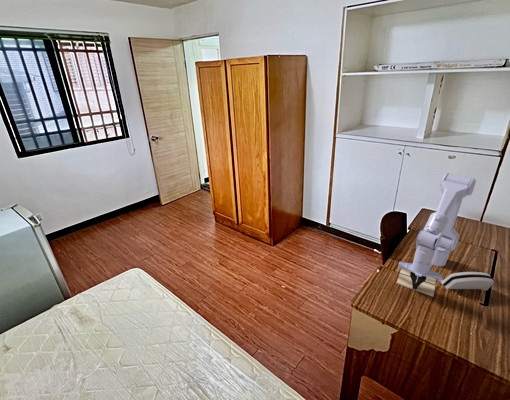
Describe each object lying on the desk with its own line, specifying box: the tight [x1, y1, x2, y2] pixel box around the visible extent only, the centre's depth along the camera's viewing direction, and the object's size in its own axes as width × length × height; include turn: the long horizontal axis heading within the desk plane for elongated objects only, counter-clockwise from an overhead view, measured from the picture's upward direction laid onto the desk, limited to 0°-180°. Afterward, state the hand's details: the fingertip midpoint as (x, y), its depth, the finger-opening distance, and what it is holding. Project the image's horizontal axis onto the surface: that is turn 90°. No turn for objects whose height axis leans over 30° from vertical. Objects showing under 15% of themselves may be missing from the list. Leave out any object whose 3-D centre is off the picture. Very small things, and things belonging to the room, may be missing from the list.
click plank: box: [396, 273, 436, 298], centre depth 110 cm, size 7×13×1 cm, turn 55°
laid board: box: [399, 268, 437, 286], centre depth 116 cm, size 7×13×1 cm, turn 55°
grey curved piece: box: [440, 271, 495, 292], centre depth 108 cm, size 17×5×10 cm, turn 89°
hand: (414, 287), depth 108 cm, fingers closed, pressing on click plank
